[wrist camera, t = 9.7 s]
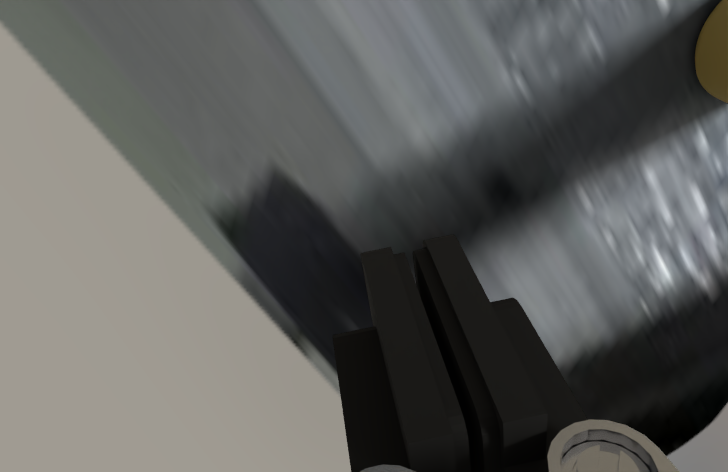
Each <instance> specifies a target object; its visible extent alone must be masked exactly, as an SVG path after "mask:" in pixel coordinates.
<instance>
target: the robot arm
mask: <svg viewBox="0 0 728 472" xmlns="http://www.w3.org/2000/svg"><path fill="white" fill-rule="evenodd" d="M361 260H362V266H363V271H364V277H365V282H366V288H367V293H368V299H369V304H370V310H371V316H372V321H373V327H369V328H365V329H360V330H355V331H350V332H345V333H340V334H336V335H333V344H334V351H335V358H336V365H337V373H338V380H339V387H340V394H341V401H342V408H343V415H344V422H345V429H346V436H347V443H348V451H349V458H350V465H351V472H680V471H679V470H678V469H677V468H676V467H675V466H674V465H673V464H672V463H671V461H670V460H669V459H668V458H667V457H666V456H665V455H664V453H663V452H662V451H661V450H660V449H659V448H658V447H657V446H656V445H655V444H654V443H653V442H651V441H650V440H649V439H648V438H647V437H646V436H645V435H643V434H641V433H639V432H638V431H636V430H634V429H632V428H630V427H628V426H626V425H623V424H619V423H616V422H612V421H609V420H591V419H590V420H588V419H587V417H586V416H585V414H584V412H583V411H582V409H581V407H580V405H579V404H578V402H577V400H576V399H575V397H574V395H573V394H572V392H571V390H570V388H569V387H568V385H567V383H566V382H565V380H564V378H563V376H562V375H561V373H560V371H559V370H558V368H557V366H556V365H555V363H554V361H553V359H552V358H551V356H550V354H549V353H548V351H547V349H546V348H545V346H544V344H543V342H542V341H541V339H540V337H539V336H538V334H537V332H536V330H535V329H534V327H533V325H532V324H531V322H530V320H529V319H528V317H527V315H526V313H525V312H524V310H523V308H522V307H521V305H520V304H519V302H518V301H517V300H516V299H514V298H509V299H505V300H500V301H495V302H490V301H489V299H488V298H487V296H486V294H485V292H484V290H483V288H482V286H481V284H480V282H479V280H478V278H477V276H476V274H475V273H474V271H473V269H472V267H471V265H470V263H469V261H468V259H467V257H466V255H465V253H464V251H463V249H462V247H461V246H460V244H459V242H458V240H457V238H456V236H455V235H448V236H443V237H438V238H433V239H428V240H424V241H423V249H420V250H415V251H413V260H414V268H415V277H416V283H415V281H414V278H413V275H412V272H411V269H410V267H409V264H408V261H407V258H406V256H405V253H400V254H395V255H393V252H392V249H391V247H388V248H384V249H379V250H374V251H369V252H364V253H361ZM416 285H417V286H416Z"/></svg>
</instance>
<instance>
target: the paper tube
mask: <svg viewBox="0 0 728 472" xmlns="http://www.w3.org/2000/svg"><path fill="white" fill-rule="evenodd" d="M695 68H696V73H697V77H698V79H699V81H700V83H701V85H702V86H703V88H704V89H705V90H706V91H707V92H708V93H710V94H711V95H712V96H714V97H716V98H718V99H720V100H722V101H724V102H725V103H727V104H728V0H722V1H721V2H720V3H719V4H718V5H717V6H716V7H715V9H714V10H713V11H712V13H711V14H710V15H709V17H708V19H707V20H706V22H705V24H704V26H703V28H702V30H701V32H700V35H699V38H698V41H697V45H696V50H695Z"/></svg>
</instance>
